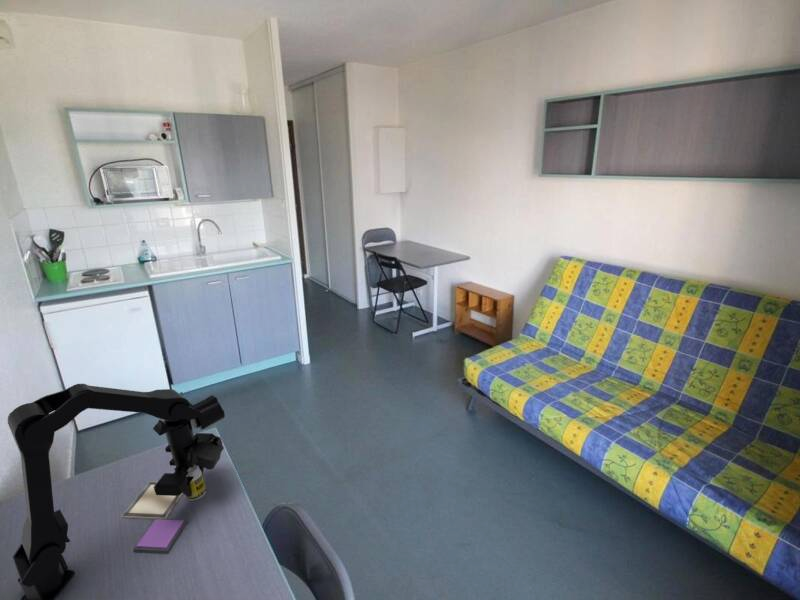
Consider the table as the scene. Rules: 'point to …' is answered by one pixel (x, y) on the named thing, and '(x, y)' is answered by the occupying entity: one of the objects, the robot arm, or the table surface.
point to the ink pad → (160, 536)
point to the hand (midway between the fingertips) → (195, 488)
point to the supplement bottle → (196, 483)
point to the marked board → (151, 504)
